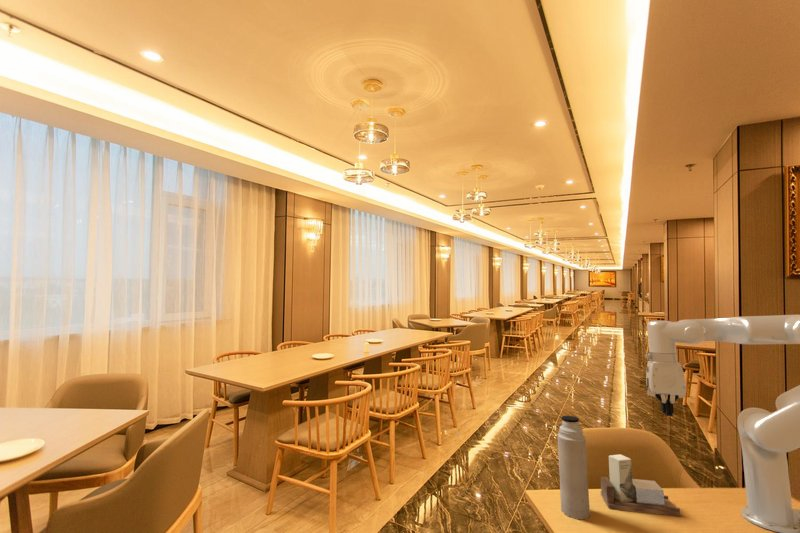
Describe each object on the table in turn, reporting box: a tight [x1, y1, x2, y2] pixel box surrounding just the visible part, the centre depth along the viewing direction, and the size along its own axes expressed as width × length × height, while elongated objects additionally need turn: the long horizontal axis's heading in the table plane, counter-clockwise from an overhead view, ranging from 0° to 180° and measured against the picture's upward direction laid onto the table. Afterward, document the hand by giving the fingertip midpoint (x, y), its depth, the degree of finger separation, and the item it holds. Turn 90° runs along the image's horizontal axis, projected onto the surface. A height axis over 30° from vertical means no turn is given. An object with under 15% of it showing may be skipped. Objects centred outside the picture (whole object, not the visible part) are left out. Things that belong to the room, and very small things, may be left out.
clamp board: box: [600, 476, 682, 517], centre depth 117 cm, size 20×8×6 cm, turn 76°
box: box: [608, 454, 634, 502], centre depth 119 cm, size 5×4×13 cm
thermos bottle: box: [557, 415, 590, 520], centre depth 115 cm, size 8×8×28 cm
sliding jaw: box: [632, 478, 665, 507], centre depth 117 cm, size 8×6×5 cm
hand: (667, 414), depth 121 cm, fingers closed
